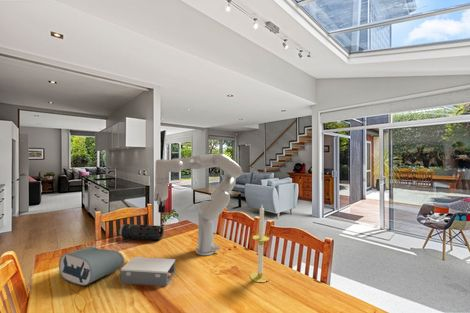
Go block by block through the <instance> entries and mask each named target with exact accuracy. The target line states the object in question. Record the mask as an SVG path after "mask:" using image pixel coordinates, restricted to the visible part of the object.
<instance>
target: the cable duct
mask: <svg viewBox="0 0 470 313" xmlns="http://www.w3.org/2000/svg"><path fill="white" fill-rule="evenodd" d="M175 273H176V261H175V262H174V263H173V265H172V266H171V268H170V269H169V271H168V272H167V273H152V272H135V271H121V270H120V284H125V285H140V286H141V285H144V286H145V285H146V286H160V287H161V286H162V287H167V286H168V284H169V282H170V281H171V280H172V278H173V276H174V275H175Z"/></svg>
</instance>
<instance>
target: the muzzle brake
mask: <svg viewBox="0 0 470 313" xmlns="http://www.w3.org/2000/svg"><path fill="white" fill-rule="evenodd" d="M164 231H165V230H164V226H163V225H152V224H151V225H150V224H133V223H125V224H122V225H121V227H120V229H119V236H120V237H121V238H124V239H130V240H136V239H139V240H141V239H143V240H149V241H161V240H162V238H163V235H164Z"/></svg>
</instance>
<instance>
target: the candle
mask: <svg viewBox="0 0 470 313" xmlns="http://www.w3.org/2000/svg"><path fill="white" fill-rule="evenodd" d="M263 206H264V205H263V204H261V206H260V208H259V220H258V221H259V224H258V228H259V229H258V234H254V235H253V236H252V239H253V240H254V241H256V242H258V246H257V247H258V250H257V271H253V272H252V273H251V274H250V276H249V278H250V277H251V278H250V279H251V280H252V281H253V280H254V281H253V282H255V281H256V282H255V283H257V282H265V283H267V282H266V280H263V279H262V278H263V272H264V243H265V242H268V241H269V240H270V236H269V235H266V234H264V226H265V224H264V222H265V219H264V218H265V209H264V207H263ZM254 272H255V273H254ZM256 272H258V274H257V273H256ZM261 279H262V280H261ZM265 279H266V277H265Z"/></svg>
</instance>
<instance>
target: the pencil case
mask: <svg viewBox="0 0 470 313" xmlns="http://www.w3.org/2000/svg"><path fill="white" fill-rule="evenodd" d="M123 265H125V257H124V255H123V254H122V253H121V252H119V251H117V250H113V249H112V250H111V249H101V248H97V247H96V245H93V244H92V245H91V246H90V245H89V246H86V247H83V248H79V249H75V250H74V251H70V252H67V253H65V254H63V255H61V257H60V259H59V264H58V268H59V270H58V271H59V274H60V275H61V277H62V278H63V279H64V280H65V281H67V282H70V283H72V284H75V285H79V286H87V285H89V284H91V283H93V282H95V281H97V280H99V279H101V278H103V277H104V276H107V275H109V274H112V273H113V272H116V271H118V270H120V268H121V269H122V268H123Z"/></svg>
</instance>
